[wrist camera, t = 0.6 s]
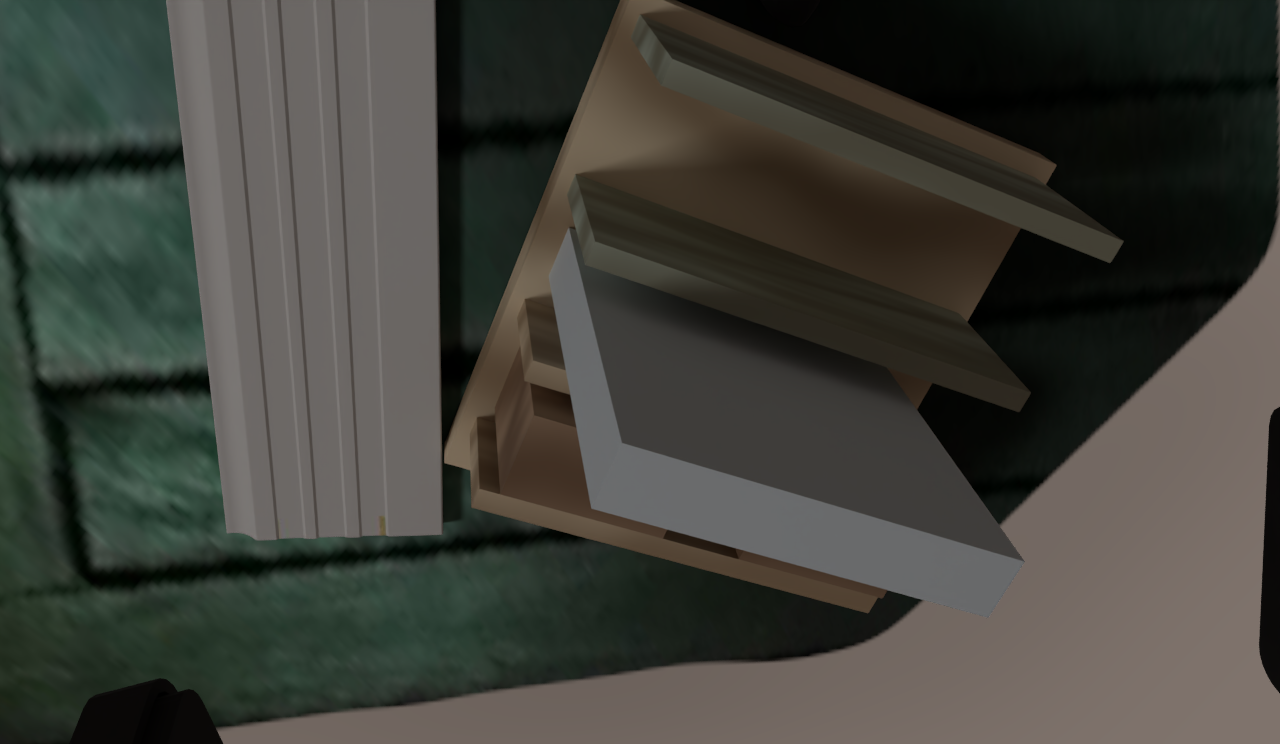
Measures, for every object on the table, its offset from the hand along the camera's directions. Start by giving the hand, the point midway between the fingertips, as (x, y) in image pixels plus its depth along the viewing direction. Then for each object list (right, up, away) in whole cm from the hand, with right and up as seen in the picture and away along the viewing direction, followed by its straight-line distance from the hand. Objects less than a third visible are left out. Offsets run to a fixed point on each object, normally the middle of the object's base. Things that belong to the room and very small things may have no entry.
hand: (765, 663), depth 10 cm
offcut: (-3, +2, +35) cm, 35 cm away
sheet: (+1, +5, +34) cm, 34 cm away
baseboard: (-13, +10, +32) cm, 36 cm away
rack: (+3, +5, +36) cm, 36 cm away
